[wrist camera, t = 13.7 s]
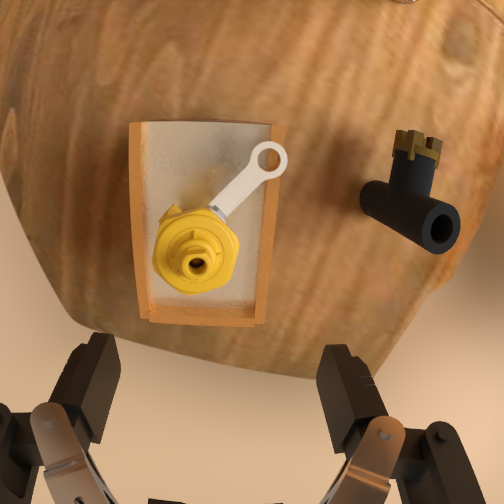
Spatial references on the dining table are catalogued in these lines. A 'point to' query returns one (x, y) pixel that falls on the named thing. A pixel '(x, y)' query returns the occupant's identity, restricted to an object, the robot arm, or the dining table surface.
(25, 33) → the dining table surface
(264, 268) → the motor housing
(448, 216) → the pipe connector
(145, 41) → the dining table surface
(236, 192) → the pressure relief valve
